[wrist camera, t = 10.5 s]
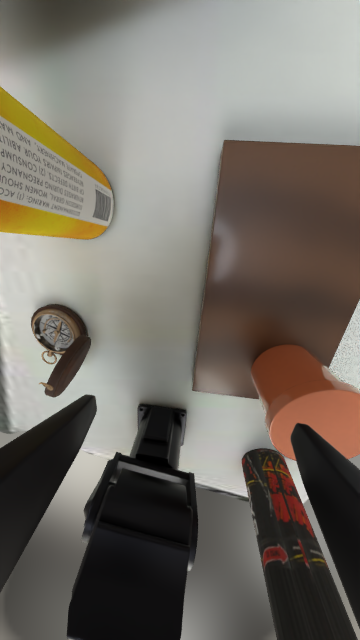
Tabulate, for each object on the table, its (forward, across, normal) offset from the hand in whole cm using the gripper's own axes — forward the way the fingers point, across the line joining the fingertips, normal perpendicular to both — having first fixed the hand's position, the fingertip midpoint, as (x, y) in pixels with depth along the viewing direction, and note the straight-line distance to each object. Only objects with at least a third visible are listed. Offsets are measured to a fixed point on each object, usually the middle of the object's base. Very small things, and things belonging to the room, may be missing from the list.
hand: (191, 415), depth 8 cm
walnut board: (+12, -7, -3) cm, 14 cm away
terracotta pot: (+10, -9, +4) cm, 14 cm away
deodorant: (+12, -12, +21) cm, 27 cm away
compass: (+12, +15, +4) cm, 20 cm away
